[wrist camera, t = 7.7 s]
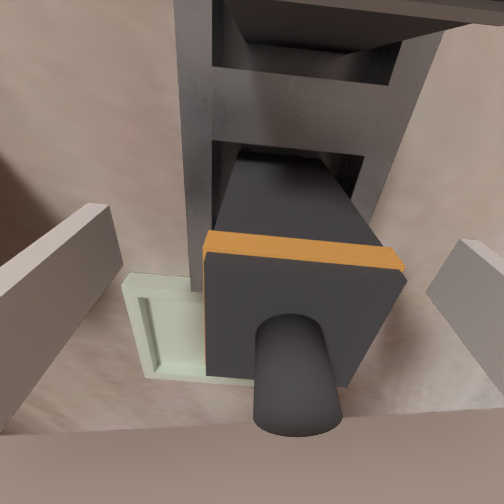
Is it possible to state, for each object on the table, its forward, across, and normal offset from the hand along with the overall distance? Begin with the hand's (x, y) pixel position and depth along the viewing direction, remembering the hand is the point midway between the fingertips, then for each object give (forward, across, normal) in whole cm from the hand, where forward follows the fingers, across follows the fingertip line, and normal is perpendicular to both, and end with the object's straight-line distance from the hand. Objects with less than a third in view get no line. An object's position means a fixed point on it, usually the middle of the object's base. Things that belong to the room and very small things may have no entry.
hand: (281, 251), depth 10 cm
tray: (+6, -4, -14) cm, 16 cm away
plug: (+6, 0, 0) cm, 6 cm away
